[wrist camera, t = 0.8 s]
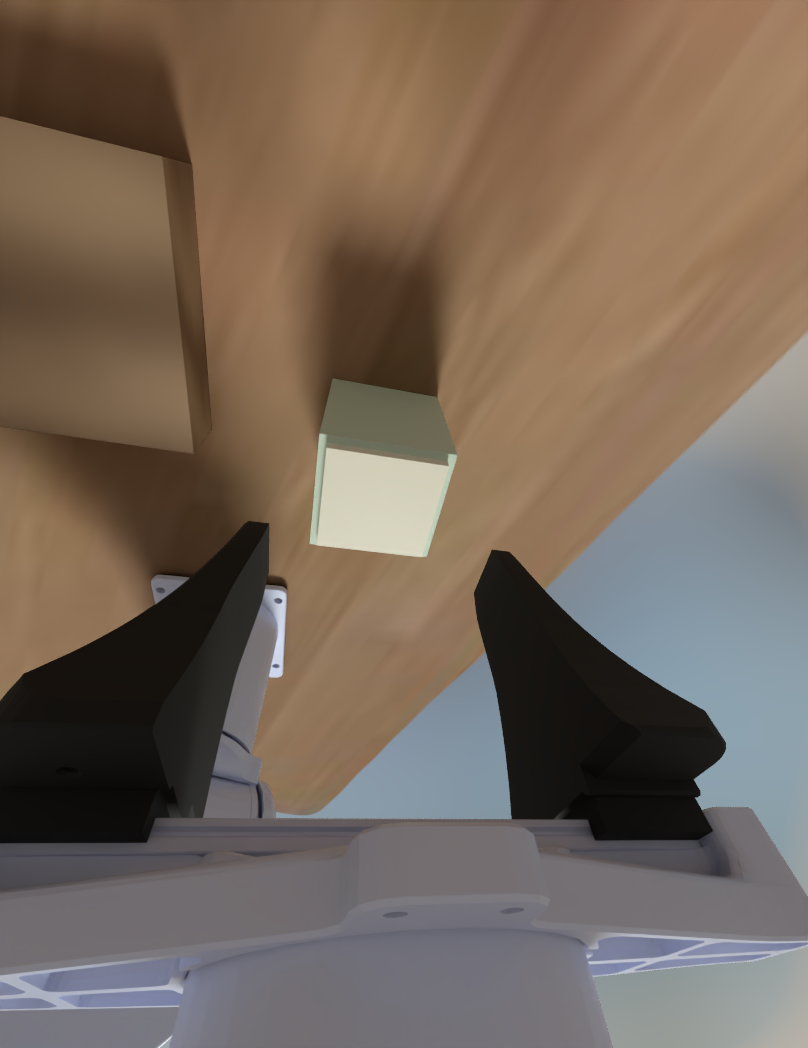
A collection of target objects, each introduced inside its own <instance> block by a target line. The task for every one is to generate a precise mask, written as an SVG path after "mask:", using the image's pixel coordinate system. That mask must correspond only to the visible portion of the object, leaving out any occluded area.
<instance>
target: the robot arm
mask: <svg viewBox="0 0 808 1048" xmlns="http://www.w3.org/2000/svg"><path fill="white" fill-rule="evenodd" d="M268 573H269V523H260V522H252V521H248V522H247V523H245V524H244V525H243V526H242V527H241V529H240V530H239V531H238V532H237V533H236V534H235V535H234V536H233V537H232V538H231V540H230V541H229V542H228V543H227V544H226V545H225V546H224V547H223V548H222V549H221V550H220V551H219V552H218V553H217V554H216V555H215V556H214V557H213V558H211V559H210V560H209V561H208V562H207V563H206V564H205V565H204V566H203V567H202V568H201V569H199V570H198V571H197V572H196V573H195V574H194V575H192V576H191V577H180V576H169V575H156V576H154V577H153V579H152V580H151V586H152V591H153V595H154V600H155V605H154V606H152V607H150V608H149V609H147V610H146V611H144V612H143V613H141V614H140V615H138V616H137V617H135V618H134V619H132V620H130V621H129V622H127V623H126V624H124V625H122V626H120V627H119V628H117V629H115V630H113V631H112V632H110V633H108V634H106V635H104V636H102V637H101V638H99V639H97V640H95V641H93V642H91V643H89V644H87V645H85V646H83V647H81V648H79V649H77V650H75V651H73V652H71V653H69V654H67V655H65V656H62V657H60V658H58V659H56V660H54V661H51V662H49V663H47V664H45V665H43V666H40V667H38V668H36V669H34V670H31V671H29V672H27V673H24V674H23V675H22V676H21V678H20V679H19V680H18V681H17V682H16V683H15V684H14V685H13V686H12V688H11V689H10V690H9V691H8V692H7V693H6V694H5V696H4V697H3V698H2V699H1V701H0V1048H160V1047H161V1046H162V1045H163V1044H165V1043H166V1042H167V1041H168V1040H169V1039H171V1042H170V1047H169V1048H613V1046H612V1043H611V1039H610V1036H609V1032H608V1029H607V1025H606V1022H605V1018H604V1015H603V1012H602V1008H601V1004H600V1001H599V998H598V994H597V991H596V987H595V984H594V980H593V977H597V976H605V975H615V974H624V973H632V972H642V971H651V970H660V969H669V968H679V967H688V966H700V965H711V964H721V963H722V964H723V963H737V962H749V961H750V962H751V961H757V960H760V959H764V958H767V957H772V956H775V955H778V954H782V953H786V952H790V951H793V950H797V949H800V948H804V947H808V896H807V895H806V893H805V892H804V890H803V889H802V887H801V885H800V884H799V882H798V881H797V879H796V877H795V876H794V875H793V873H792V871H791V869H790V868H789V866H788V865H787V863H786V862H785V860H784V858H783V857H782V856H781V854H780V852H779V851H778V849H777V848H776V846H775V844H774V843H773V841H772V840H771V838H770V836H769V835H768V833H767V832H766V830H765V829H764V827H763V825H762V824H761V822H760V821H759V819H758V818H757V816H756V815H755V813H754V811H753V810H752V809H750V808H748V807H712V808H708V809H704V810H701V808H700V806H699V804H698V803H697V801H696V799H695V797H698V796H700V790H699V788H698V786H697V785H696V783H695V781H694V779H695V778H696V777H697V776H699V775H700V774H701V773H702V772H704V771H705V770H707V769H708V768H709V767H711V766H712V765H713V764H715V763H716V762H717V761H718V760H719V759H720V758H721V757H722V756H723V754H724V752H725V750H726V742H725V741H724V739H723V738H722V736H721V735H720V733H719V732H718V730H717V728H716V727H715V726H714V724H713V722H712V721H711V719H710V718H709V716H708V715H707V713H706V712H705V711H704V710H703V709H701V708H699V707H697V706H695V705H693V704H692V703H690V702H688V701H687V700H685V699H683V698H681V697H679V696H678V695H676V694H674V693H672V692H671V691H669V690H667V689H666V688H664V687H662V686H661V685H659V684H658V683H656V682H655V681H653V680H651V679H650V678H648V677H647V676H645V675H643V674H642V673H641V672H639V671H638V670H636V669H635V668H633V667H632V666H630V665H629V664H627V663H626V662H625V661H623V660H622V659H621V658H619V657H618V656H617V655H615V654H614V653H612V652H611V651H610V650H609V649H607V648H606V647H605V646H604V645H602V644H601V643H600V642H598V641H597V640H596V639H595V638H594V637H592V636H591V635H590V634H589V633H588V632H587V631H586V630H584V629H583V628H582V627H581V626H580V625H579V624H578V623H577V622H575V621H574V620H573V619H572V618H571V617H570V616H569V615H568V614H567V613H566V612H565V611H564V610H563V609H562V608H561V607H560V606H559V605H558V604H557V603H556V602H555V601H554V600H553V599H552V598H551V597H550V596H549V595H548V594H547V593H546V591H545V590H544V589H543V588H542V587H541V586H540V585H539V584H538V583H537V582H536V580H535V579H534V578H533V577H532V576H531V575H530V574H529V573H528V571H527V570H526V569H525V568H524V567H523V566H522V565H521V564H520V563H519V561H518V560H517V559H516V558H515V557H514V556H513V555H512V554H511V553H510V552H507V551H498V550H492V551H491V554H490V556H489V558H488V561H487V563H486V565H485V568H484V570H483V573H482V575H481V577H480V580H479V582H478V584H477V587H476V589H475V592H474V597H475V606H476V613H477V620H478V624H479V628H480V632H481V636H482V639H483V643H484V647H485V650H486V654H487V658H488V661H489V665H490V668H491V672H492V676H493V679H494V684H495V688H496V692H497V698H498V704H499V710H500V716H501V723H502V730H503V737H504V744H505V752H506V761H507V770H508V780H509V790H510V803H511V816H512V819H299V818H294V819H293V818H276V810H275V805H274V802H273V796H272V793H271V790H270V787H269V786H268V784H266V783H265V782H263V781H259V780H258V779H259V774H260V769H261V764H262V759H261V758H257V757H255V756H253V755H252V750H253V746H254V741H255V737H256V732H257V728H258V723H259V719H260V714H261V710H262V705H263V701H264V696H265V692H266V687H267V683H268V678H269V677H280V676H282V674H283V667H284V648H285V628H286V609H287V590H286V589H285V588H284V587H282V586H274V585H266V582H267V578H268ZM162 588H163V589H162ZM277 598H280V599H277Z"/></svg>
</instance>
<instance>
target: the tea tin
mask: <svg viewBox="0 0 808 1048" xmlns="http://www.w3.org/2000/svg"><path fill="white" fill-rule="evenodd" d="M457 456H458V455H457V452H456V449H455V446H454V443H453V440H452V437H451V435H450V432H449V429H448V426H447V423H446V420H445V417H444V414H443V412H442V409H441V406H440V403H439V400H438V397H434V396H428V395H423V394H417V393H412V392H406V391H400V390H395V389H389V388H384V387H378V386H373V385H367V384H361V383H356V382H350V381H345V380H339V379H332V383H331V387H330V392H329V396H328V400H327V404H326V408H325V412H324V417H323V421H322V425H321V429H320V433H319V444H318V456H317V467H316V479H315V490H314V502H313V513H312V524H311V536H310V544H316V545H319V546H328V547H337V548H346V549H354V550H363V551H372V552H381V553H390V554H399V555H407V556H416V557H427V554H428V550H429V547H430V544H431V541H432V537H433V534H434V531H435V527H436V524H437V521H438V518H439V514H440V511H441V508H442V505H443V501H444V498H445V495H446V492H447V488H448V485H449V482H450V478H451V475H452V472H453V469H454V465H455V462H456V459H457Z"/></svg>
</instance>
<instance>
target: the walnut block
mask: <svg viewBox="0 0 808 1048" xmlns="http://www.w3.org/2000/svg"><path fill="white" fill-rule="evenodd" d="M0 427H7V428H14V429H21V430H28V431H36V432H43V433H50V434H57V435H64V436H71V437H78V438H85V439H92V440H99V441H106V442H113V443H120V444H127V445H134V446H141V447H148V448H156V449H163V450H170V451H177V452H184V453H191V454H194V453H195V451H196V450H197V449H198V447H199V446H200V445H201V443H202V442H203V441H204V439H205V438H206V437H207V435H208V434H209V433H210V431H211V430H212V424H211V410H210V397H209V384H208V371H207V357H206V344H205V331H204V317H203V304H202V291H201V278H200V264H199V251H198V238H197V224H196V211H195V198H194V185H193V171H192V164H188V163H185V162H181V161H177V160H174V159H170V158H166V157H162V156H158V155H154V154H150V153H146V152H142V151H138V150H134V149H130V148H126V147H122V146H118V145H114V144H110V143H106V142H102V141H98V140H94V139H90V138H86V137H82V136H78V135H74V134H70V133H66V132H62V131H58V130H54V129H50V128H46V127H42V126H38V125H34V124H30V123H26V122H22V121H18V120H14V119H10V118H6V117H2V116H0Z"/></svg>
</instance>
